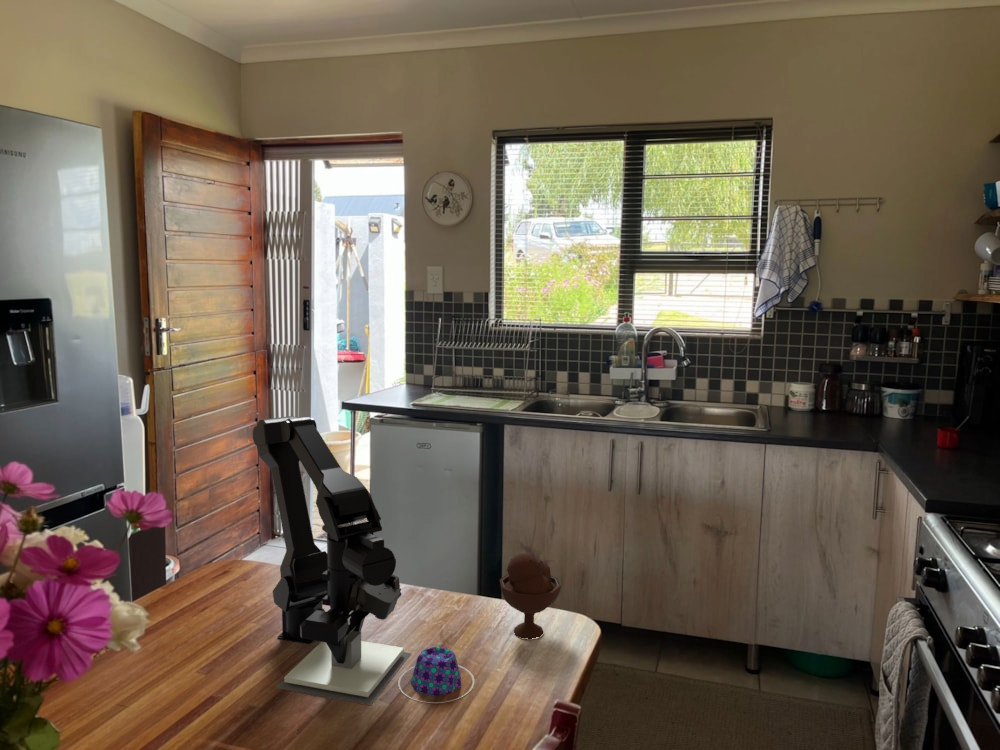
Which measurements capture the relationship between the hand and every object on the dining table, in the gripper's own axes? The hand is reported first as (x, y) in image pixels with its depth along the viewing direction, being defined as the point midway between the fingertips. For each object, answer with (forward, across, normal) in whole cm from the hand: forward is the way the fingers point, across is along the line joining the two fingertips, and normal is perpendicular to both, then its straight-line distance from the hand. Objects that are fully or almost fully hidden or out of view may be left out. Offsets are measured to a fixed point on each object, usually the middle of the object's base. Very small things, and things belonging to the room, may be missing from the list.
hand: (346, 657), depth 121 cm
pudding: (+3, +1, -15) cm, 15 cm away
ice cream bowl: (+3, +22, -25) cm, 33 cm away
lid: (+2, 0, 0) cm, 2 cm away
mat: (+3, 0, 0) cm, 3 cm away
